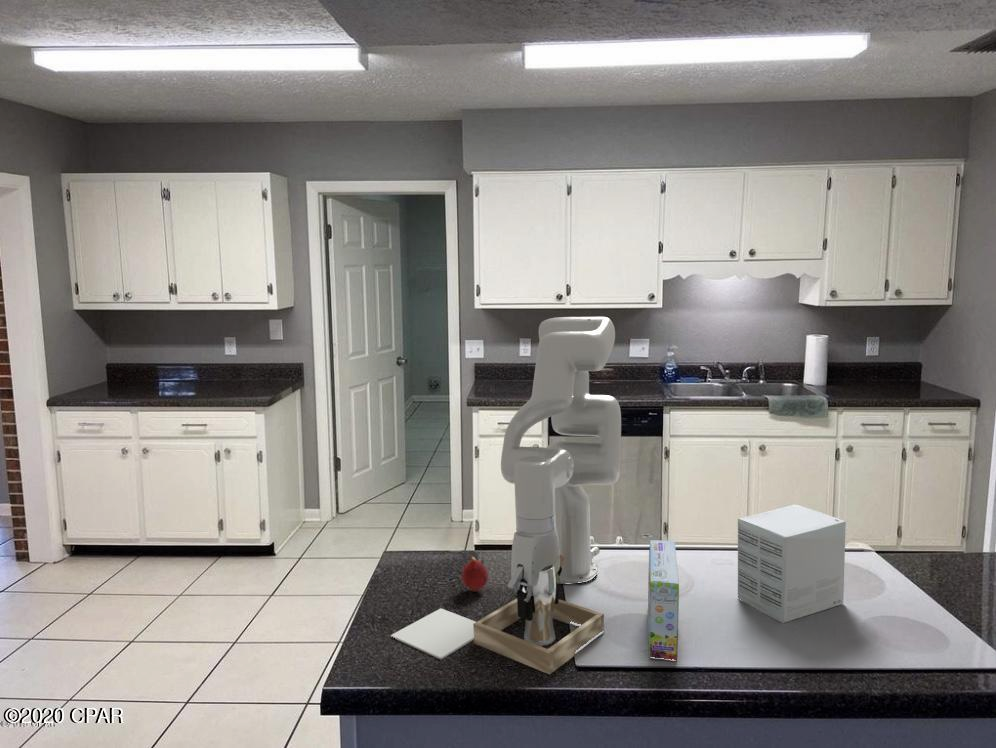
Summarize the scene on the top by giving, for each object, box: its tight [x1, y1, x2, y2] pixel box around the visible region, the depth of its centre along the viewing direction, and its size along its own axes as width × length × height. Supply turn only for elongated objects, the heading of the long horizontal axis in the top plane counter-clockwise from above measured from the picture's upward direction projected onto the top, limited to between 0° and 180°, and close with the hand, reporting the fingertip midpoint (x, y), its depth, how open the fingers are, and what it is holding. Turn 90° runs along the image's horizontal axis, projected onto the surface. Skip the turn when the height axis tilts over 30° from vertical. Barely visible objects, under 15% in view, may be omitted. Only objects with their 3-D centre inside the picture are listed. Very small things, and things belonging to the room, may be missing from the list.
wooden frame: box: [473, 598, 605, 675], centre depth 138 cm, size 18×18×4 cm
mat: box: [390, 607, 477, 660], centre depth 142 cm, size 14×14×1 cm
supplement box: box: [737, 503, 847, 624], centre depth 148 cm, size 17×13×18 cm
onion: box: [461, 556, 489, 593], centre depth 159 cm, size 6×6×8 cm
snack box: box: [647, 539, 680, 661], centre depth 138 cm, size 21×6×15 cm, turn 168°
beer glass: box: [522, 564, 556, 647], centre depth 137 cm, size 7×7×15 cm
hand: (538, 609), depth 138 cm, fingers open, 7 cm apart
